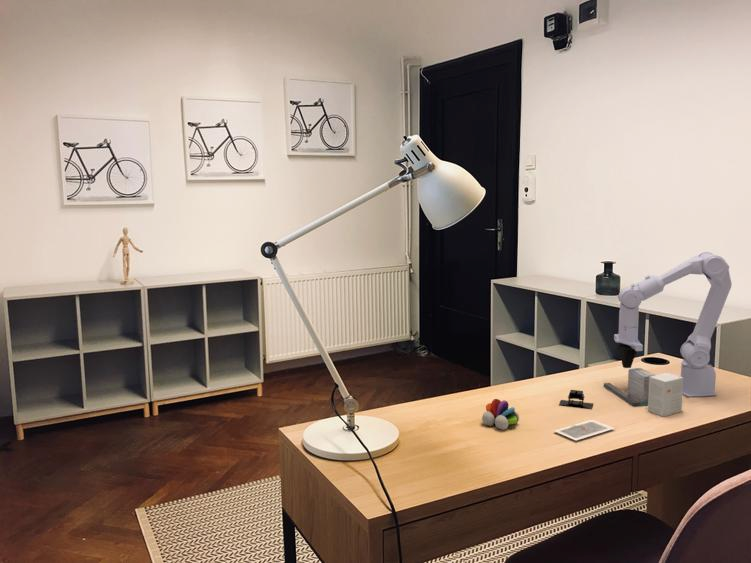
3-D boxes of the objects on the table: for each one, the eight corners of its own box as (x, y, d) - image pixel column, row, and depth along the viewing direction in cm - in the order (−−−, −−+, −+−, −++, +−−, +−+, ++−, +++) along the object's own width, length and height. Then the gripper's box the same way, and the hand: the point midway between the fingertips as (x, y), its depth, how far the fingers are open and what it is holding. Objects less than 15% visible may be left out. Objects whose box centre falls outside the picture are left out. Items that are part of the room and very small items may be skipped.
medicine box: (655, 402, 195) (657, 374, 194) (642, 403, 194) (644, 376, 193) (639, 394, 203) (640, 367, 201) (626, 395, 202) (628, 368, 200)
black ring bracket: (553, 407, 194) (553, 393, 193) (556, 399, 201) (556, 385, 200) (596, 412, 189) (597, 397, 188) (598, 404, 196) (599, 390, 195)
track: (635, 385, 212) (635, 381, 211) (667, 404, 193) (667, 401, 193) (603, 386, 210) (603, 383, 210) (633, 406, 192) (633, 403, 192)
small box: (665, 406, 192) (667, 372, 190) (682, 412, 187) (684, 377, 185) (646, 411, 188) (648, 376, 187) (663, 417, 183) (665, 381, 182)
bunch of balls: (495, 416, 186) (495, 392, 185) (524, 425, 180) (524, 400, 178) (477, 424, 181) (477, 399, 179) (506, 433, 174) (507, 407, 173)
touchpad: (614, 432, 174) (615, 424, 174) (575, 444, 167) (576, 436, 166) (591, 423, 181) (592, 415, 181) (553, 434, 173) (553, 426, 173)
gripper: (605, 321, 210) (604, 361, 213) (627, 331, 196) (626, 374, 198) (626, 320, 211) (624, 360, 213) (649, 330, 197) (648, 373, 199)
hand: (626, 367), depth 206 cm, fingers closed
